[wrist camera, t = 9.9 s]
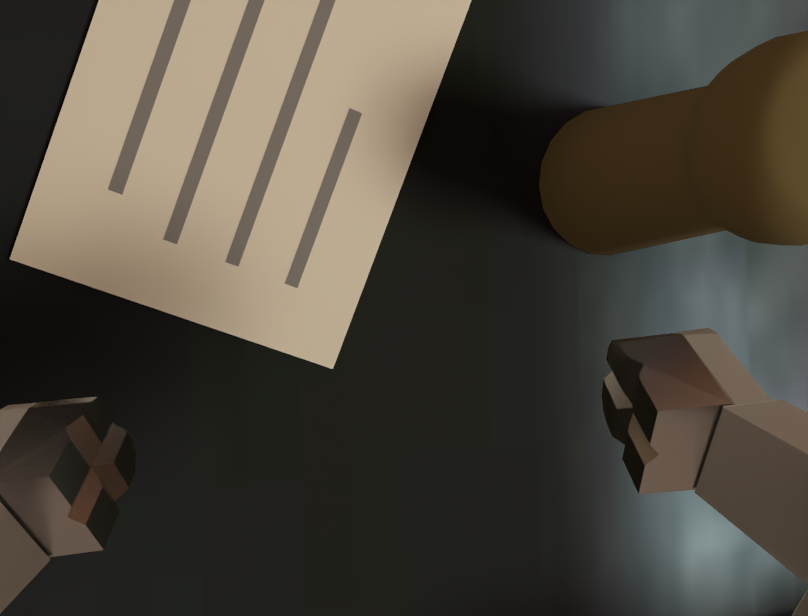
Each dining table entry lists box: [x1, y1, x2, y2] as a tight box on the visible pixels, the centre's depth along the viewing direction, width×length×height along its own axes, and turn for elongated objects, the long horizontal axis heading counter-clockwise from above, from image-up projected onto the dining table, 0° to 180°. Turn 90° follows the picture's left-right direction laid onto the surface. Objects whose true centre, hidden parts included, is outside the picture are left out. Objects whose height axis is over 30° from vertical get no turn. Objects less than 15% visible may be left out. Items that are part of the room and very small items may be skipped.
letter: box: [10, 0, 471, 369], centre depth 21 cm, size 16×12×1 cm
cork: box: [539, 31, 808, 255], centre depth 18 cm, size 6×6×11 cm
